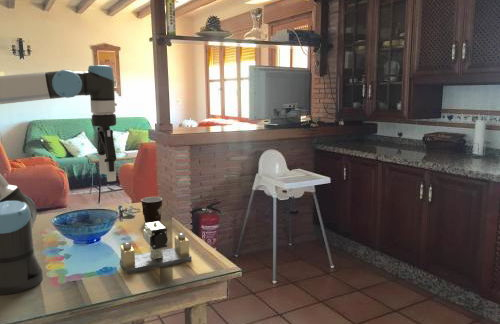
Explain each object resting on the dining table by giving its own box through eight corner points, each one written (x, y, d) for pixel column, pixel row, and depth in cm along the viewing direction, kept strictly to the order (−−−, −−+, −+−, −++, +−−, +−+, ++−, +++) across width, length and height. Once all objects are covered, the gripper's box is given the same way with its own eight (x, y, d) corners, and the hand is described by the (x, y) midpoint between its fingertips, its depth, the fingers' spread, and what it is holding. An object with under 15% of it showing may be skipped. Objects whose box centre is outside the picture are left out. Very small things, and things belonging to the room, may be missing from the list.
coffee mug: (154, 217, 187) (153, 195, 186) (167, 221, 182) (166, 199, 180) (132, 224, 179) (130, 201, 177) (144, 229, 173) (143, 205, 171)
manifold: (127, 274, 132) (125, 249, 131) (120, 262, 141) (118, 239, 140) (191, 260, 142) (190, 237, 141) (181, 250, 151) (180, 228, 149)
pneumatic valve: (158, 250, 147) (156, 216, 145) (169, 262, 137) (167, 226, 135) (142, 253, 145) (140, 218, 143) (152, 265, 135) (150, 229, 133)
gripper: (123, 115, 132) (127, 183, 136) (108, 111, 153) (112, 169, 157) (98, 116, 128) (102, 186, 132) (86, 111, 150) (90, 171, 154)
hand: (107, 177), depth 145 cm, fingers open, 13 cm apart
